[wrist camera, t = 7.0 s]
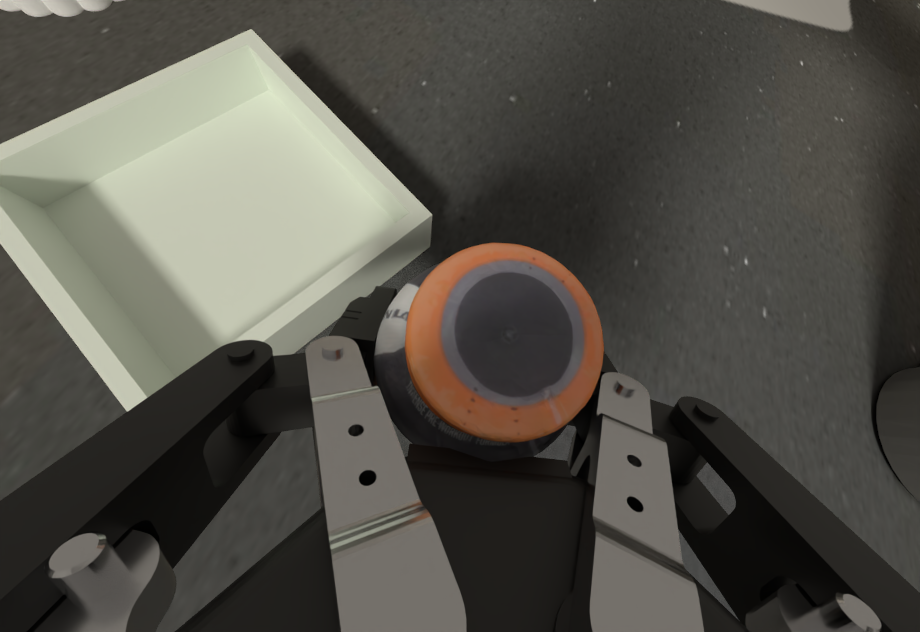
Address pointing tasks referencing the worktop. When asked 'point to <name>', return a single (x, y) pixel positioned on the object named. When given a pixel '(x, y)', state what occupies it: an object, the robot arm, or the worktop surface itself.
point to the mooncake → (54, 6)
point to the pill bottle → (489, 352)
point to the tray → (201, 216)
